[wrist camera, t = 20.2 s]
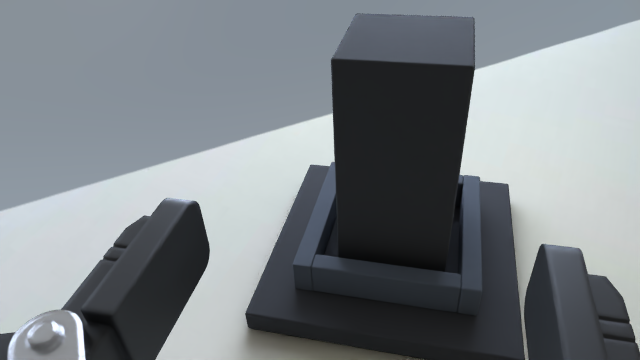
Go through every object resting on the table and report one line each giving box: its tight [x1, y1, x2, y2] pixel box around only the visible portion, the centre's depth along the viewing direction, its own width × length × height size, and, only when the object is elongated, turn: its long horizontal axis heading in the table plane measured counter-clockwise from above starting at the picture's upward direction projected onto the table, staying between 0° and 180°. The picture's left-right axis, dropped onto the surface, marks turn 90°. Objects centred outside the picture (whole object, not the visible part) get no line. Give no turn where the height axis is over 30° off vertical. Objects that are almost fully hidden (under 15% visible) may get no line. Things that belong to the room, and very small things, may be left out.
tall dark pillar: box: [331, 14, 475, 272], centre depth 21 cm, size 5×5×10 cm
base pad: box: [245, 162, 525, 360], centre depth 24 cm, size 11×11×2 cm
